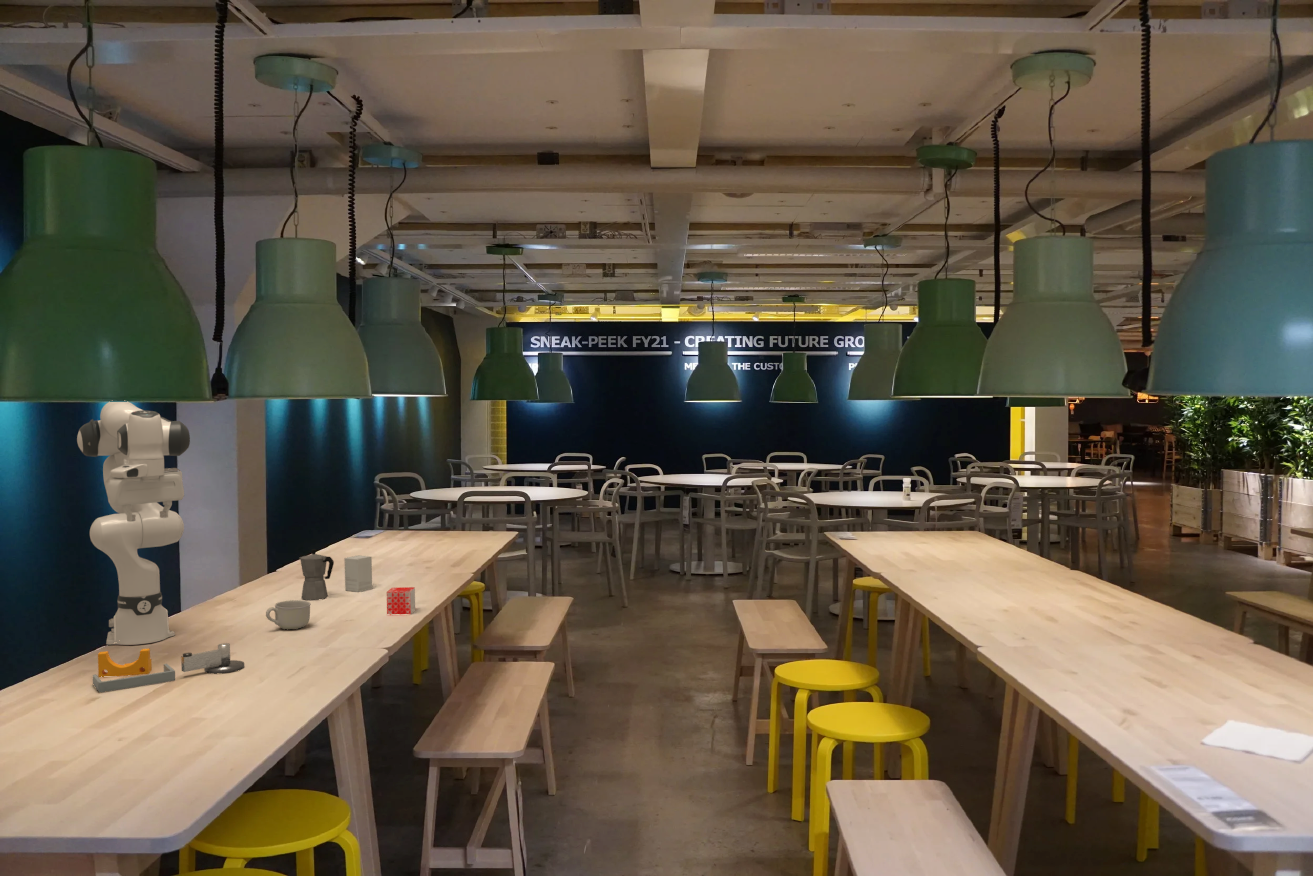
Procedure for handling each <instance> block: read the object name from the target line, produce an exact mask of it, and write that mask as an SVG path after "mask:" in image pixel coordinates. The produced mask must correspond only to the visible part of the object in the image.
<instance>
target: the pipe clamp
mask: <svg viewBox="0 0 1313 876" xmlns="http://www.w3.org/2000/svg"><path fill="white" fill-rule="evenodd" d="M152 663H153V661H152V658H151V649H150V648H141V649H140V651H139V656H138V658H137V659H136V660H134V661H132V662H129V663H124V664H119V663H116V662H115V661H114V660H112V658H111V656H110V654H109V651H99V652H98V653H97V665H98V666H97V669H98V671H97V672H98V673H97V674H98V675H97V676H98V677H101V676H102V677H103V678H105V677H104V676H117V677H127V676H128V675H130V676H140V675H147V674H151V671H152V668H153V666H152V665H153V664H152ZM128 677H129V676H128Z"/></svg>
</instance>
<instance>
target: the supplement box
mask: <svg viewBox="0 0 1313 876" xmlns="http://www.w3.org/2000/svg"><path fill="white" fill-rule="evenodd" d="M372 559H373V558H372V556H369V555H367V556H366V555H354V556H347V557H344V559H343V561H344V589H345V591H346V592H354V591H355V592H354V593H360V591H361V592H366V591H369V590H372V589H373V566H372V562H373V561H372Z"/></svg>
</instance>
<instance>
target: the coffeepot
mask: <svg viewBox="0 0 1313 876" xmlns="http://www.w3.org/2000/svg"><path fill="white" fill-rule="evenodd" d="M316 552H317V549H315V548H312V549H311V554H308V555H303V556H299V557H298V559H299V561H300V565H301V571H302V576H303V577H304V581H303V585H302V592H301V598H300V599H301V600H302V601H320V600H319V599H322V600H325V599H327V598H328V597H329V595H328V589H327V585H326V580H329V579H331V575H332V572H333V568H334V563H335V561H334V559H333V558H332V557H331V556H327V555H321V554H317V553H316ZM327 562H328V568H327ZM326 569H327V572H326ZM326 574H327V575H326ZM325 575H326V576H325Z"/></svg>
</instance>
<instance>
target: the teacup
mask: <svg viewBox="0 0 1313 876" xmlns="http://www.w3.org/2000/svg"><path fill="white" fill-rule="evenodd" d="M272 611H274V618H272V616H270V614H271V612H272ZM310 616H311V602H310V601H308V600H302V599H301V600H300V599H295V600H294V599H293V600H291V599H290V600H283V601H278V602H276V603H275V604H274V606H273V607H269V608H267V610H266V611H265V617H266V619H267V620H269V621H270V622H272V623H274V624H275V625H276V626H278V627H280V629H282V630H285V629H287V630H286V631H289V630H288V629H296V630H299V629H298V628H301V627H303V628H304V627H305V626H306V625H308V624H309V622H310V618H311V617H310ZM301 629H302V628H301Z"/></svg>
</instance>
